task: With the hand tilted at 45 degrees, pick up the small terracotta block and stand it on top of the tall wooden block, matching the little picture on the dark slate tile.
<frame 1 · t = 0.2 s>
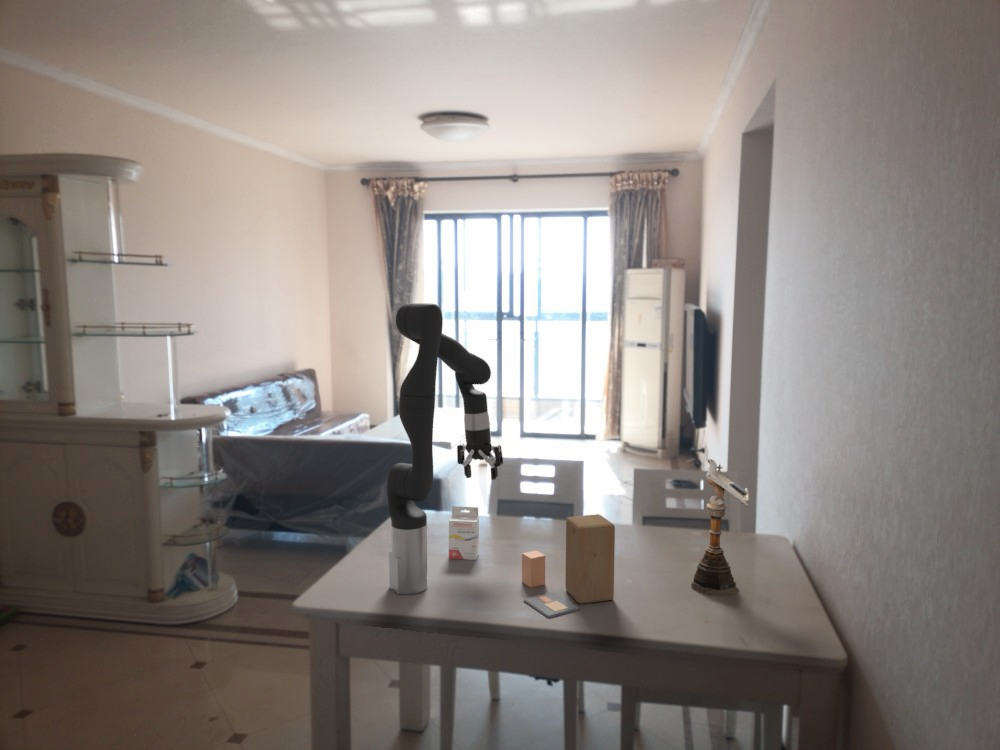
hand: (481, 478, 212), 22 cm above the table, tool pointing down, fingers open, 8 cm apart
ink cartridge box: (463, 557, 208), on the table
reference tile: (550, 605, 174), on the table
terracotta block: (533, 583, 188), on the table
wooden block: (589, 596, 180), on the table
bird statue: (723, 588, 186), on the table
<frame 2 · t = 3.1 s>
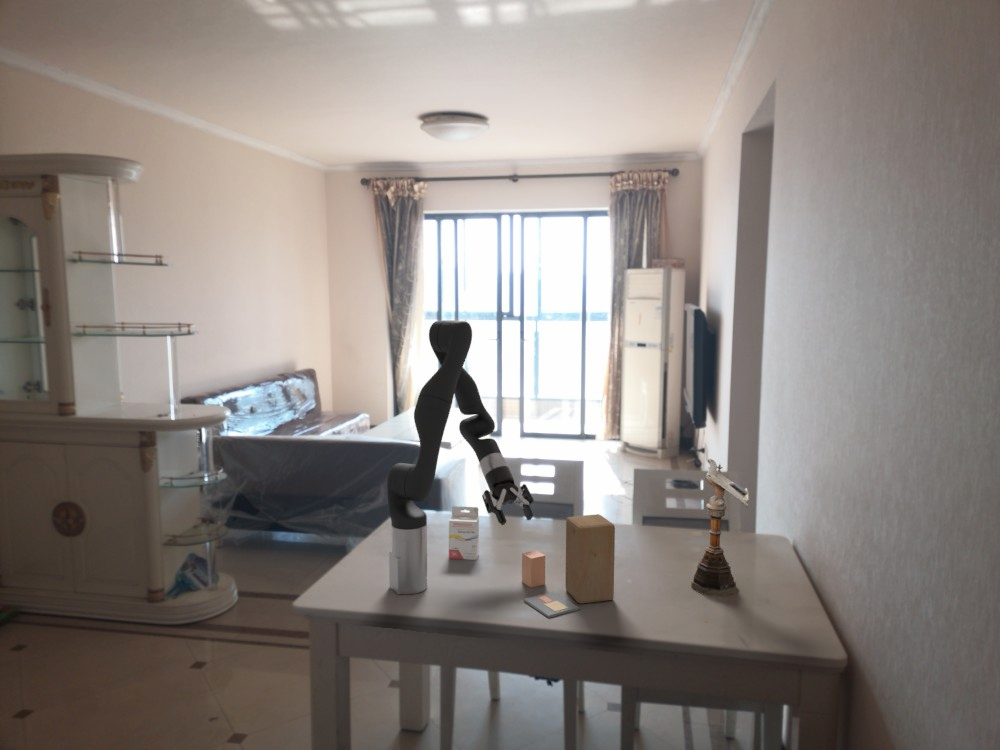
hand: (517, 521, 194), 15 cm above the table, tool tilted 45°, fingers open, 8 cm apart
nothing on the table moved.
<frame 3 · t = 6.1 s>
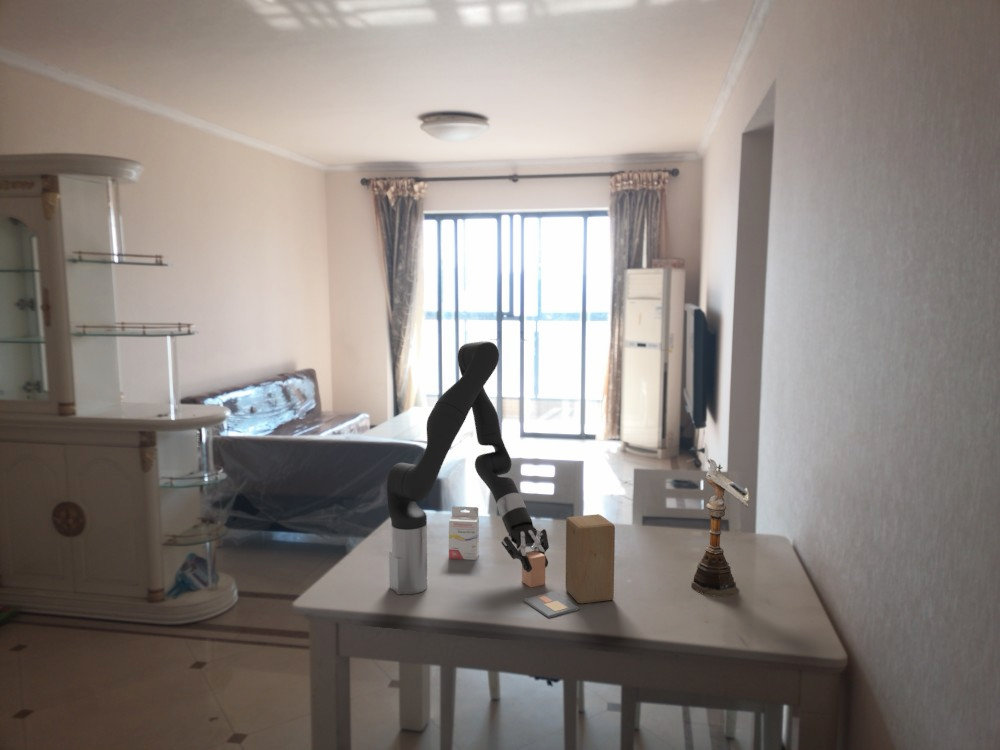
hand: (537, 568, 186), 5 cm above the table, tool tilted 45°, fingers closed on terracotta block, 4 cm apart
terracotta block: (533, 582, 188), on the table, touching gripper
everything else where it was.
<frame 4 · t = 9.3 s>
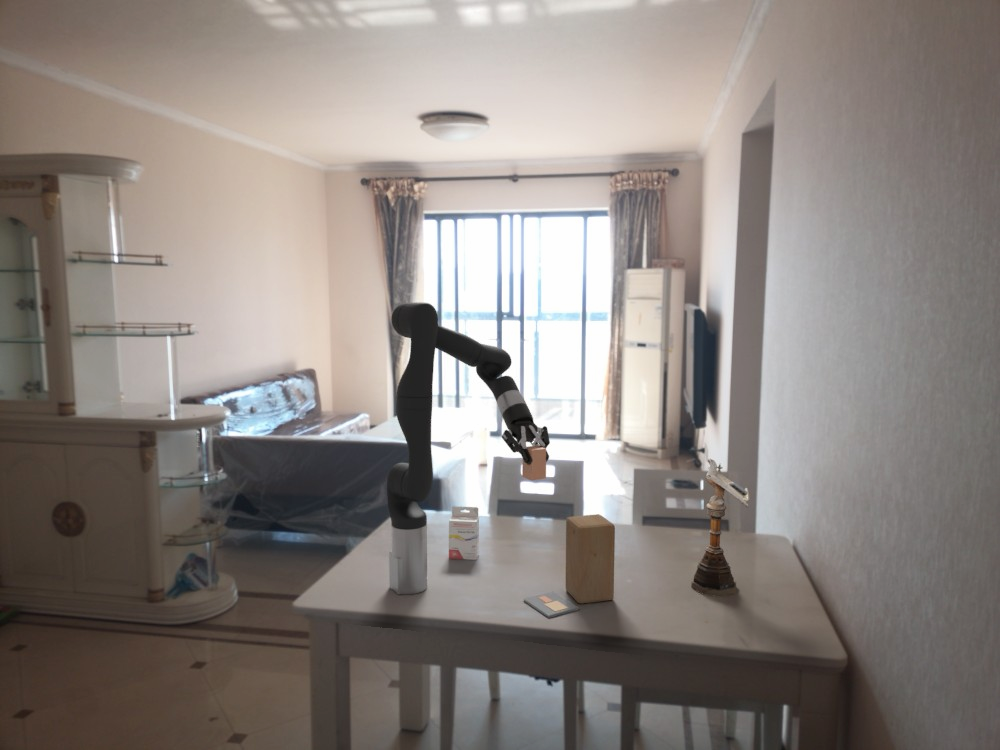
hand: (538, 461, 183), 34 cm above the table, tool tilted 45°, fingers closed on terracotta block, 4 cm apart
terracotta block: (534, 477, 185), point 29 cm above the table, touching gripper
everything else where it was.
when the fingers open (26 cm above the table, at t = 12.5 s): terracotta block drops 1 cm, resting on wooden block.
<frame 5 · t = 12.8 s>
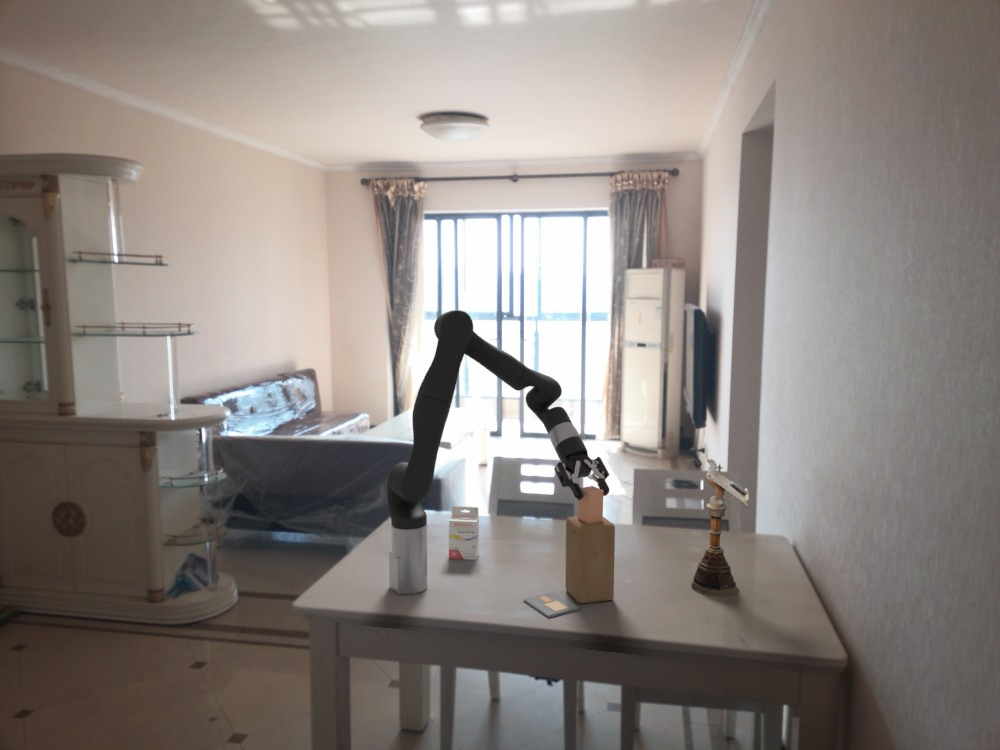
hand: (594, 496, 176), 27 cm above the table, tool tilted 45°, fingers open, 7 cm apart
terracotta block: (590, 519, 178), point 20 cm above the table, touching wooden block
wooden block: (589, 596, 180), on the table, touching terracotta block
everything else where it was.
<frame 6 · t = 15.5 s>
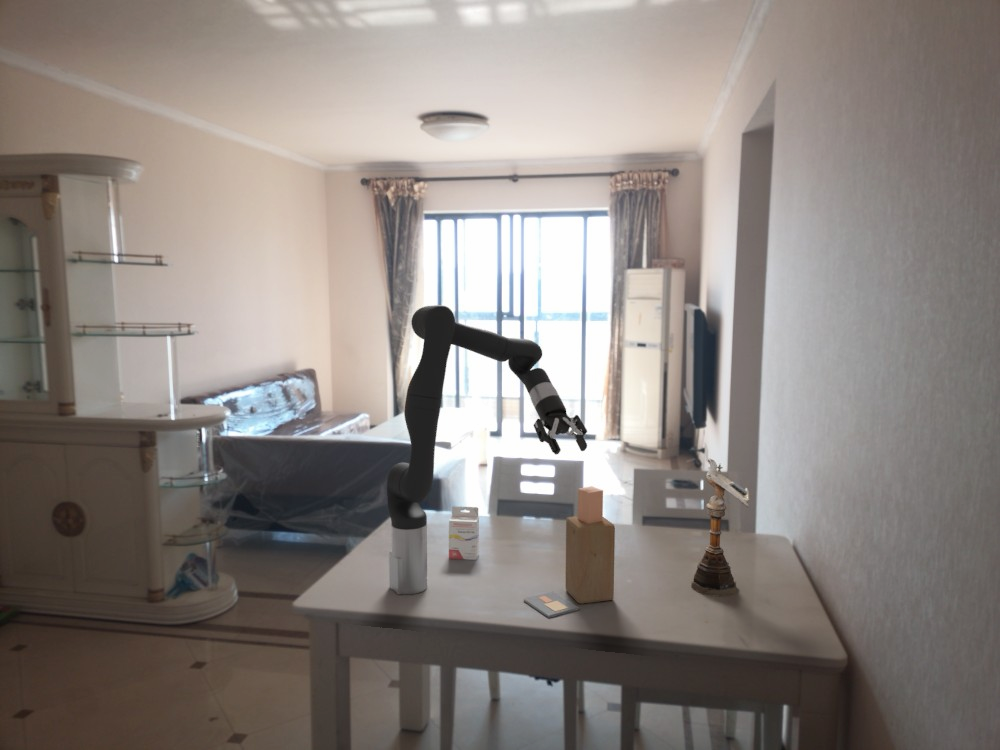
hand: (571, 451, 184), 36 cm above the table, tool tilted 45°, fingers open, 8 cm apart
nothing on the table moved.
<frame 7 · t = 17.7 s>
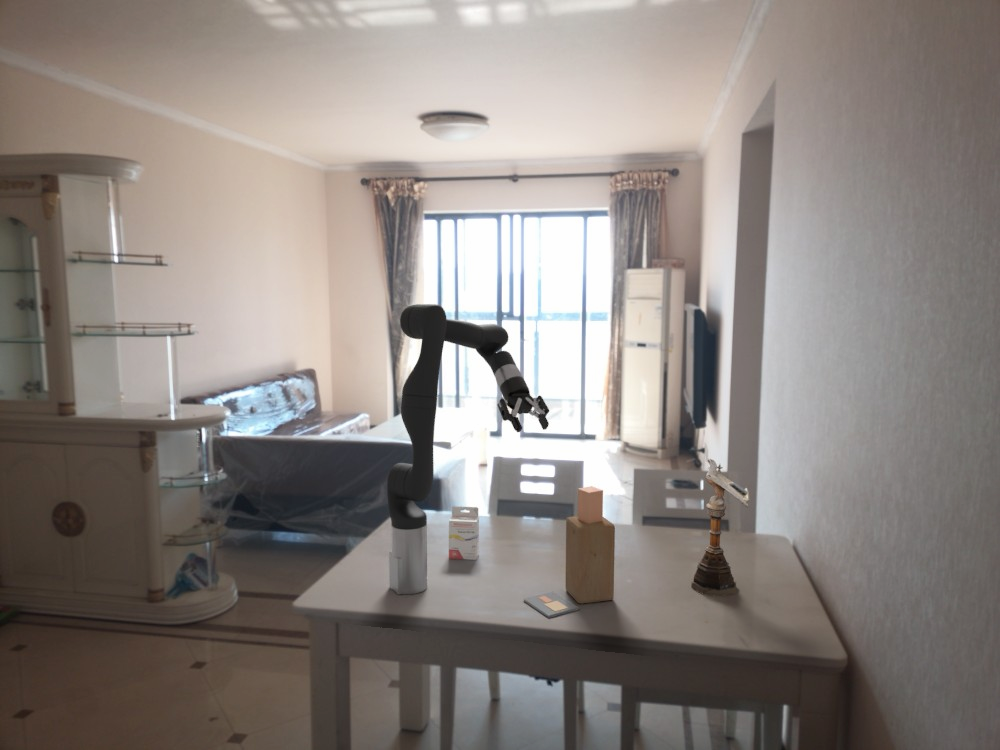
hand: (533, 429, 192), 41 cm above the table, tool tilted 45°, fingers open, 8 cm apart
nothing on the table moved.
at the end: terracotta block 0.0 cm off-centre on the wooden block, point 20.2 cm above the wooden block's base; terracotta block tilted 0°; the gripper is holding nothing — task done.
